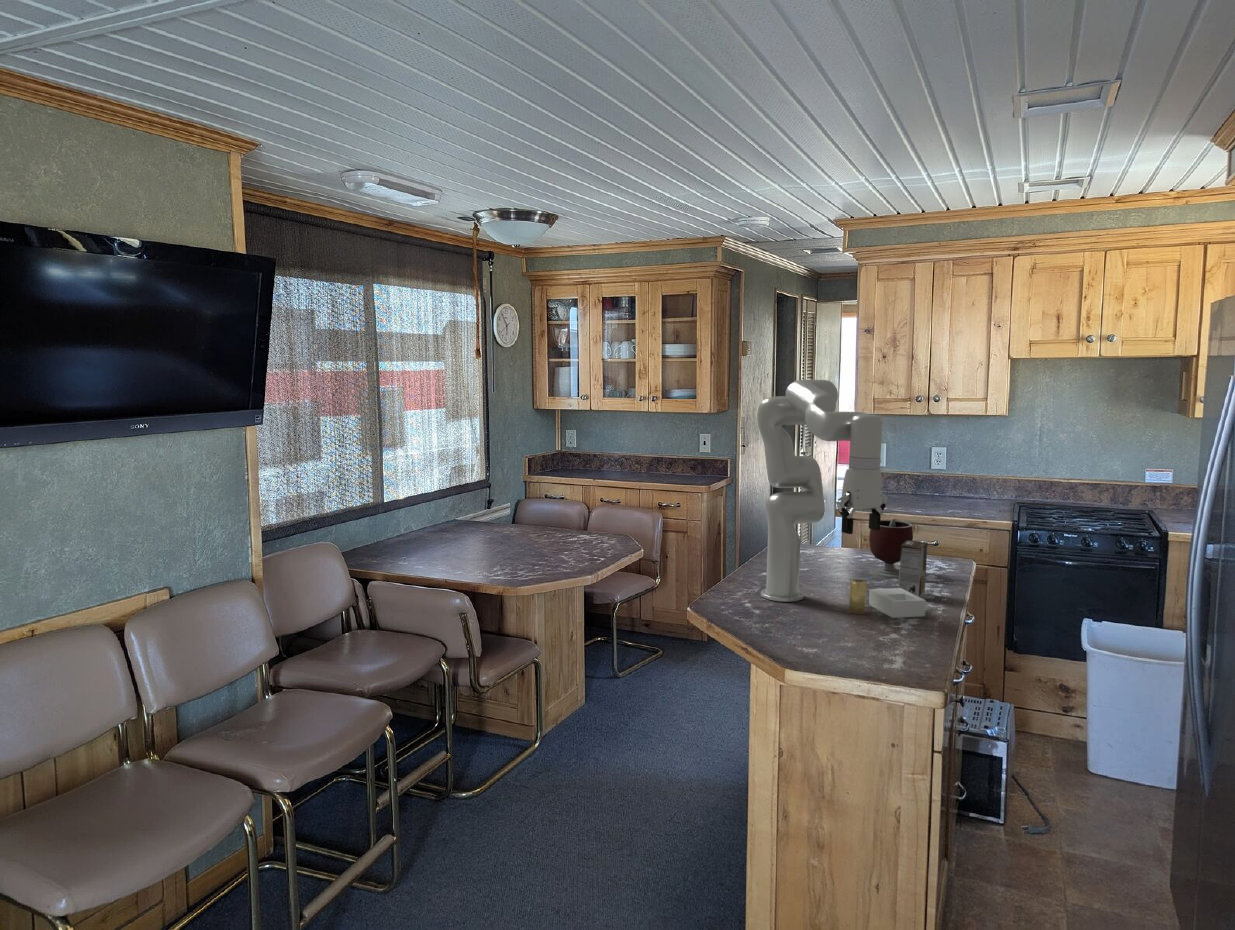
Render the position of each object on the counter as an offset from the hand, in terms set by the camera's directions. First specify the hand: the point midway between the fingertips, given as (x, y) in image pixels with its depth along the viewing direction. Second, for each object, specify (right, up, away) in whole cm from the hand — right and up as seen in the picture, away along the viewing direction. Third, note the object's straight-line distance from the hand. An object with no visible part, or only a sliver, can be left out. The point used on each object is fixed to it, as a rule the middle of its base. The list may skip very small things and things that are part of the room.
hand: (860, 531), depth 209 cm
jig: (+18, -25, +28) cm, 42 cm away
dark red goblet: (+30, -20, +70) cm, 78 cm away
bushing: (+7, -25, +26) cm, 37 cm away
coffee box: (+28, -23, +44) cm, 57 cm away
